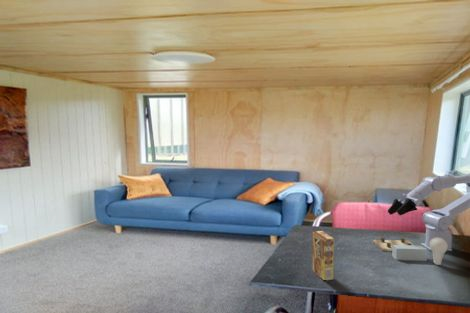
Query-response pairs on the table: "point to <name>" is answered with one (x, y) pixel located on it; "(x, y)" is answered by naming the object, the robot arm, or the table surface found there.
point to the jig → (390, 243)
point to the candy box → (323, 255)
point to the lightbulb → (438, 249)
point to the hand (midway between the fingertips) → (393, 213)
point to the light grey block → (409, 252)
